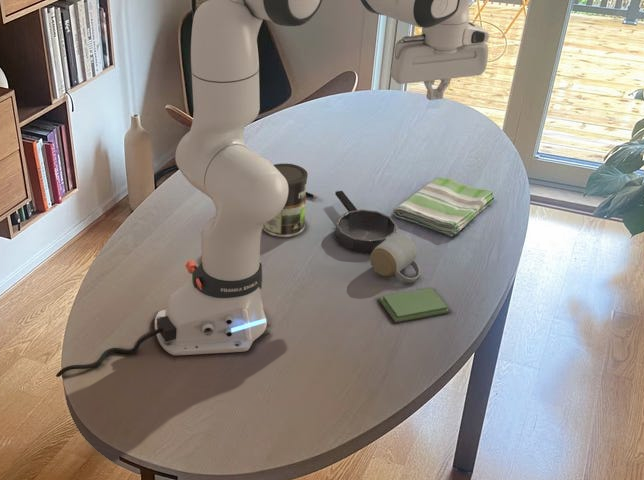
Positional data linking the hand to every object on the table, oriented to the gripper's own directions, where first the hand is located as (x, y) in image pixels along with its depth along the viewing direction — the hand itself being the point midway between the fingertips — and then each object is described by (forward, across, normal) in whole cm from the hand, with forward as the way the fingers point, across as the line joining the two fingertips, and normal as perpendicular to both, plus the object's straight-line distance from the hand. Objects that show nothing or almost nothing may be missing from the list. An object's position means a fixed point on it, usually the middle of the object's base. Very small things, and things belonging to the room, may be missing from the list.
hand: (434, 98), depth 172 cm
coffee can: (+34, -28, +13) cm, 46 cm away
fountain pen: (+34, -20, +28) cm, 49 cm away
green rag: (+34, -12, -25) cm, 44 cm away
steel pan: (+34, -11, +8) cm, 37 cm away
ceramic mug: (+34, -10, -12) cm, 38 cm away
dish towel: (+34, +13, +10) cm, 38 cm away
